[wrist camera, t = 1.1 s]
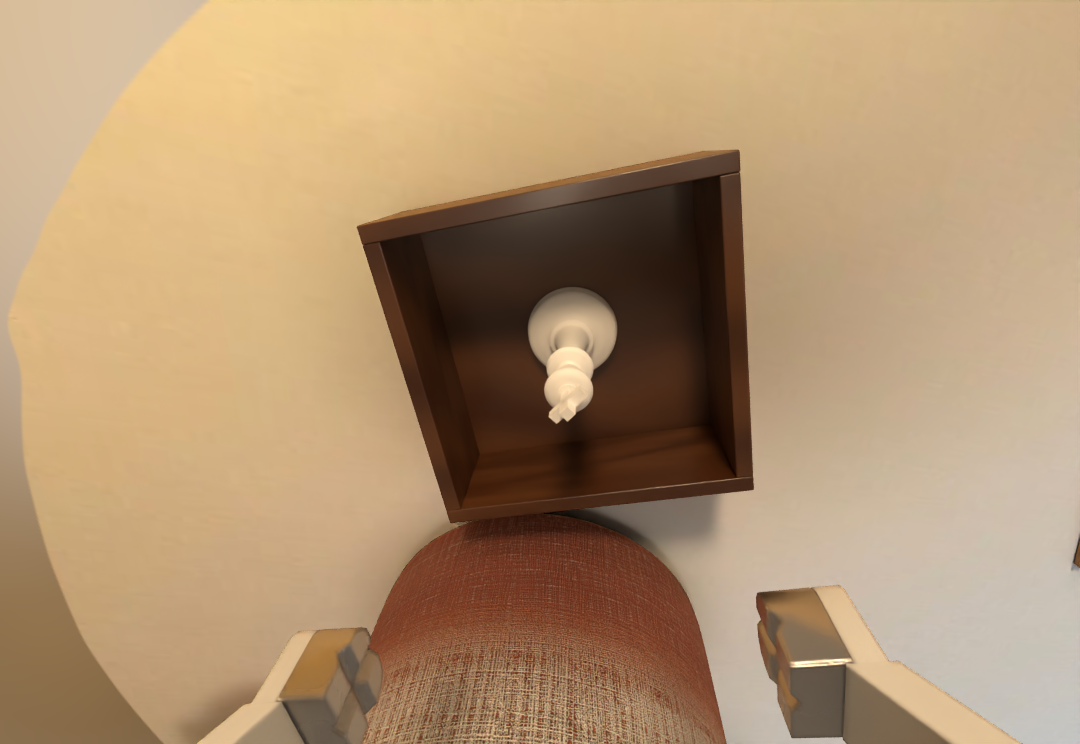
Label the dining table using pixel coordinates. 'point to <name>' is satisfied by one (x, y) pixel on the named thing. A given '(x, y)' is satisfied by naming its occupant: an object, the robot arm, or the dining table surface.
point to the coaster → (1078, 557)
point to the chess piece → (571, 345)
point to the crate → (618, 384)
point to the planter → (540, 642)
